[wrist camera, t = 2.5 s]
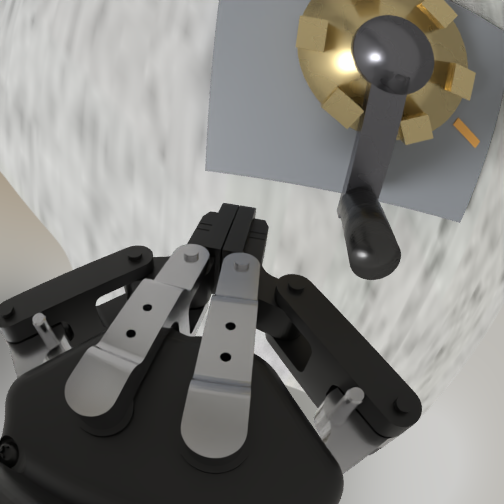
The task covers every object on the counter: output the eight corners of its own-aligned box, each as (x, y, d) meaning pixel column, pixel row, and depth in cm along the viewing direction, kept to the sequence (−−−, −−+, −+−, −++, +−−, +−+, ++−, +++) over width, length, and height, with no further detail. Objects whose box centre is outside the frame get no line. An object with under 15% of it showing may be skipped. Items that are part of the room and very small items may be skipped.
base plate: (230, -43, 12) (225, -50, 11) (501, 36, 11) (512, 36, 10) (210, 163, 22) (204, 171, 21) (453, 213, 21) (460, 223, 20)
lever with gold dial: (306, -33, 11) (311, -91, 4) (458, 16, 11) (540, 11, 4) (275, 184, 20) (260, 261, 14) (409, 212, 20) (450, 292, 13)
